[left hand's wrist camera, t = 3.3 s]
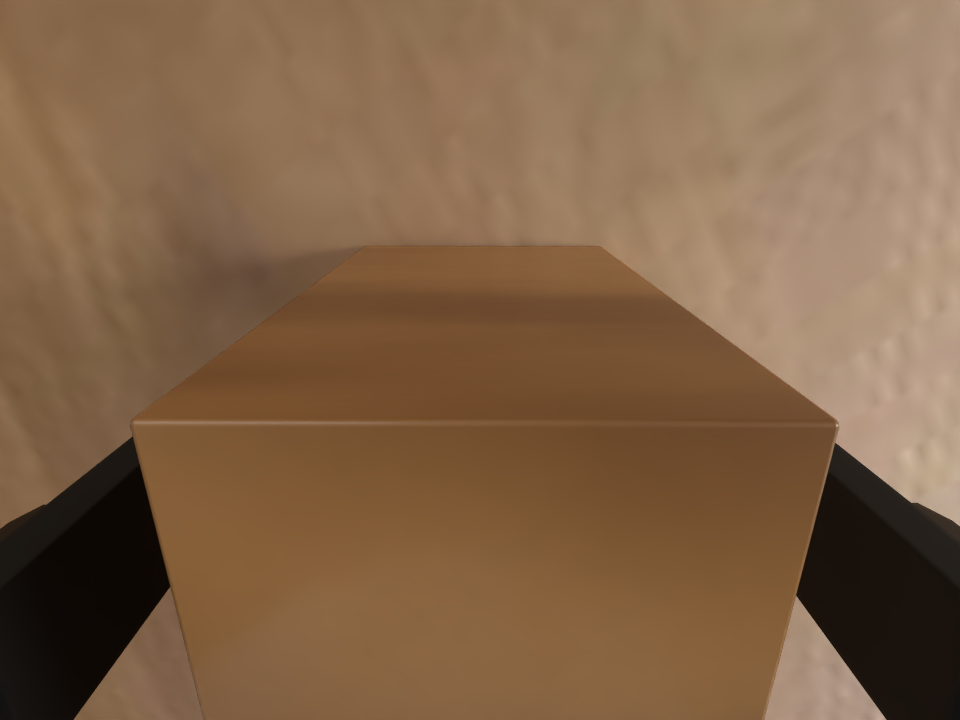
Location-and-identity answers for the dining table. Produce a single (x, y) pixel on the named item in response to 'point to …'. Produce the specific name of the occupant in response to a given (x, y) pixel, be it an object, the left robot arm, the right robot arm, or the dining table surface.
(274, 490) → the bar
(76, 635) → the left robot arm
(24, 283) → the dining table surface
